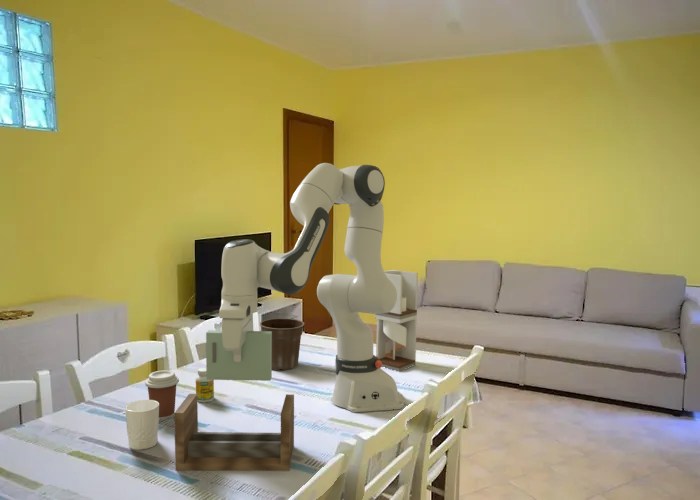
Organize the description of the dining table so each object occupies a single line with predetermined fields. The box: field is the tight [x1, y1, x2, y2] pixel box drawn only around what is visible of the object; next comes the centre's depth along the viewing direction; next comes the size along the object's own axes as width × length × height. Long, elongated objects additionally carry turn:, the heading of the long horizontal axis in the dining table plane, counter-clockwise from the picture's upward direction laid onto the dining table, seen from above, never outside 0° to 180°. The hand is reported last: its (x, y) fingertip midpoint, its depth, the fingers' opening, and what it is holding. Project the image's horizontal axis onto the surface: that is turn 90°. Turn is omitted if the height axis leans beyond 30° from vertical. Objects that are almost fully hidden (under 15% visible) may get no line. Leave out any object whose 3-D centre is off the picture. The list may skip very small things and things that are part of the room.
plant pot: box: [259, 317, 305, 371], centre depth 200 cm, size 16×16×16 cm
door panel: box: [205, 329, 273, 382], centre depth 137 cm, size 16×3×12 cm, turn 90°
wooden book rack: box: [173, 393, 295, 472], centre depth 129 cm, size 26×12×14 cm, turn 91°
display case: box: [374, 269, 419, 372], centre depth 202 cm, size 11×11×35 cm
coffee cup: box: [144, 370, 180, 421], centre depth 154 cm, size 9×9×12 cm
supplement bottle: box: [195, 367, 215, 403], centre depth 166 cm, size 5×5×10 cm
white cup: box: [125, 399, 160, 451], centre depth 136 cm, size 8×8×10 cm
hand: (239, 358), depth 137 cm, fingers closed on door panel, 2 cm apart
